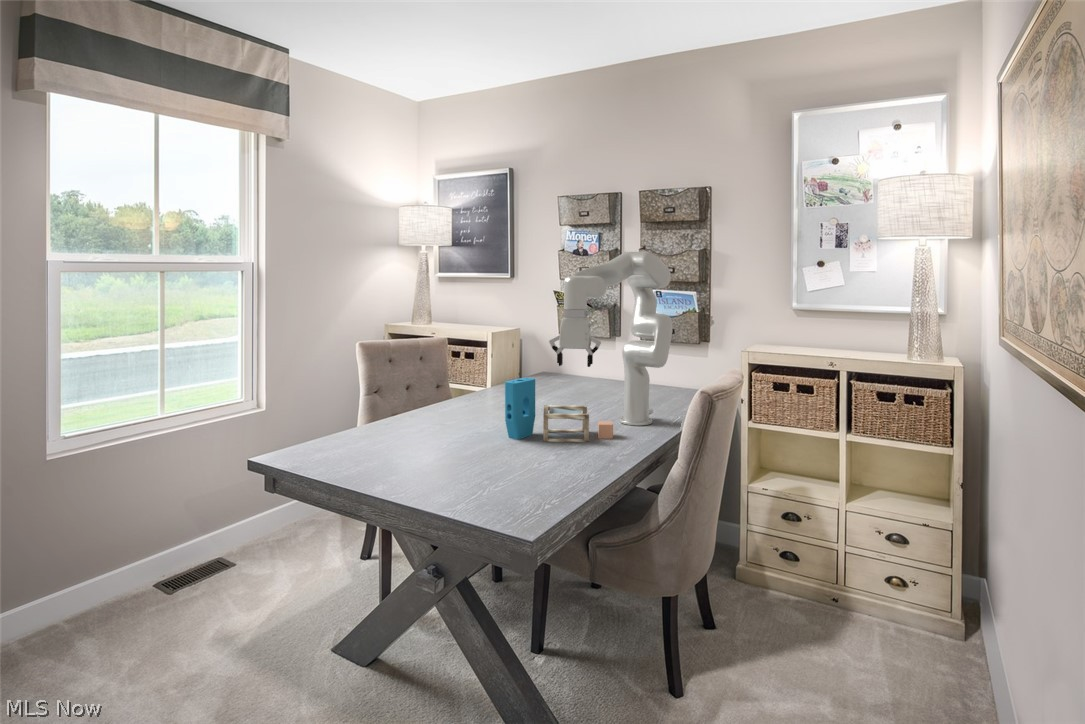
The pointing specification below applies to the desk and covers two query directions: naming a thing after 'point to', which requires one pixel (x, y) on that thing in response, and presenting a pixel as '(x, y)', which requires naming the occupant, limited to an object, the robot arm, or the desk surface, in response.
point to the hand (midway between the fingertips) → (574, 365)
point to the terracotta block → (605, 429)
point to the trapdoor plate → (563, 412)
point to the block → (520, 407)
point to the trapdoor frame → (566, 416)
